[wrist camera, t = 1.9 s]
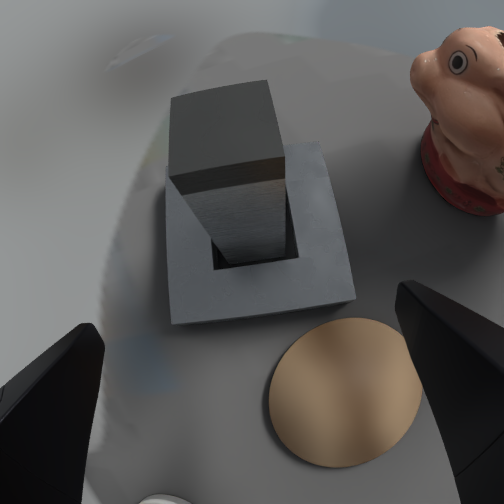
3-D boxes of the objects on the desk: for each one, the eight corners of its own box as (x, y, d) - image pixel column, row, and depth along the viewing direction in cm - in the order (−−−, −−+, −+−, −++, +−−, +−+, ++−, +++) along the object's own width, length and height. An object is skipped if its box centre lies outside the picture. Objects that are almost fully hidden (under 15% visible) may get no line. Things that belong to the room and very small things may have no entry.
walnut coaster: (317, 488, 16) (318, 491, 16) (239, 373, 20) (237, 374, 19) (440, 404, 17) (444, 405, 17) (371, 287, 20) (374, 286, 20)
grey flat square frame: (349, 302, 20) (356, 298, 18) (181, 325, 21) (171, 324, 19) (316, 155, 24) (318, 141, 22) (173, 178, 24) (165, 166, 22)
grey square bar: (285, 256, 22) (285, 156, 10) (229, 264, 22) (168, 176, 10) (276, 205, 23) (266, 79, 11) (224, 213, 23) (171, 97, 11)
